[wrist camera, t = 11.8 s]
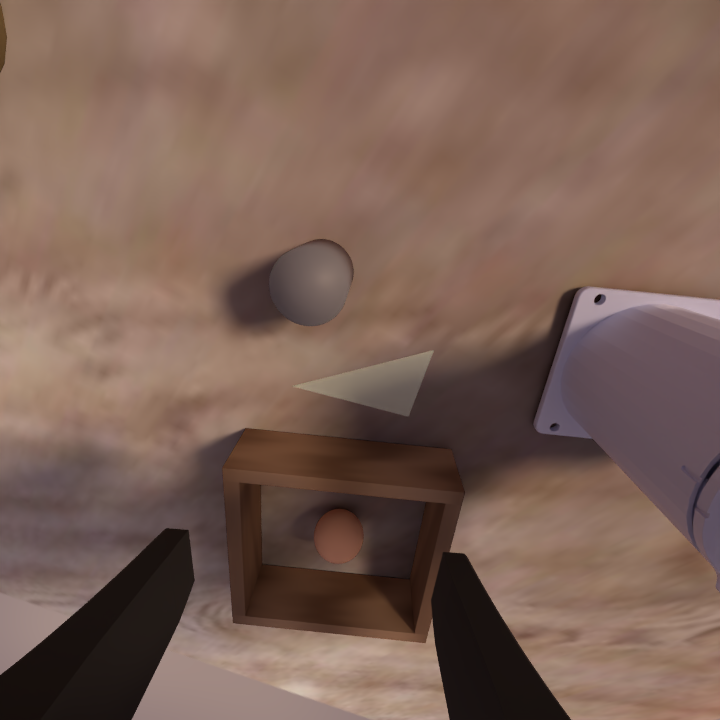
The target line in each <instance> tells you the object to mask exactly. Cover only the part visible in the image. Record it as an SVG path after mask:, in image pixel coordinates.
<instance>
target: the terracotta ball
mask: <svg viewBox="0 0 720 720" xmlns="http://www.w3.org/2000/svg"><path fill="white" fill-rule="evenodd" d="M363 538H364V534H363V528H362V525H361V522H360V521H359V519H358V518H357V517H356V516H355V515H354V514H353V513H352V512H350V511H348V510H345V509H334V510H331V511H329V512H327V513H326V514H324V515H323V516H322V517H321V518H320V520H319V521H318V523H317V525H316V528H315V532H314V542H315V546H316V549H317V551H318V553H319V554H320V555H321V556H322V557H323V558H324V559H325V560H327V561H328V562H331V563H334V564H342V563H346V562H348V561H350V560H352V559H353V558H354V557H355V556H356V555H357V554H358V552H359V551H360V549H361V547H362V544H363Z"/></svg>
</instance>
